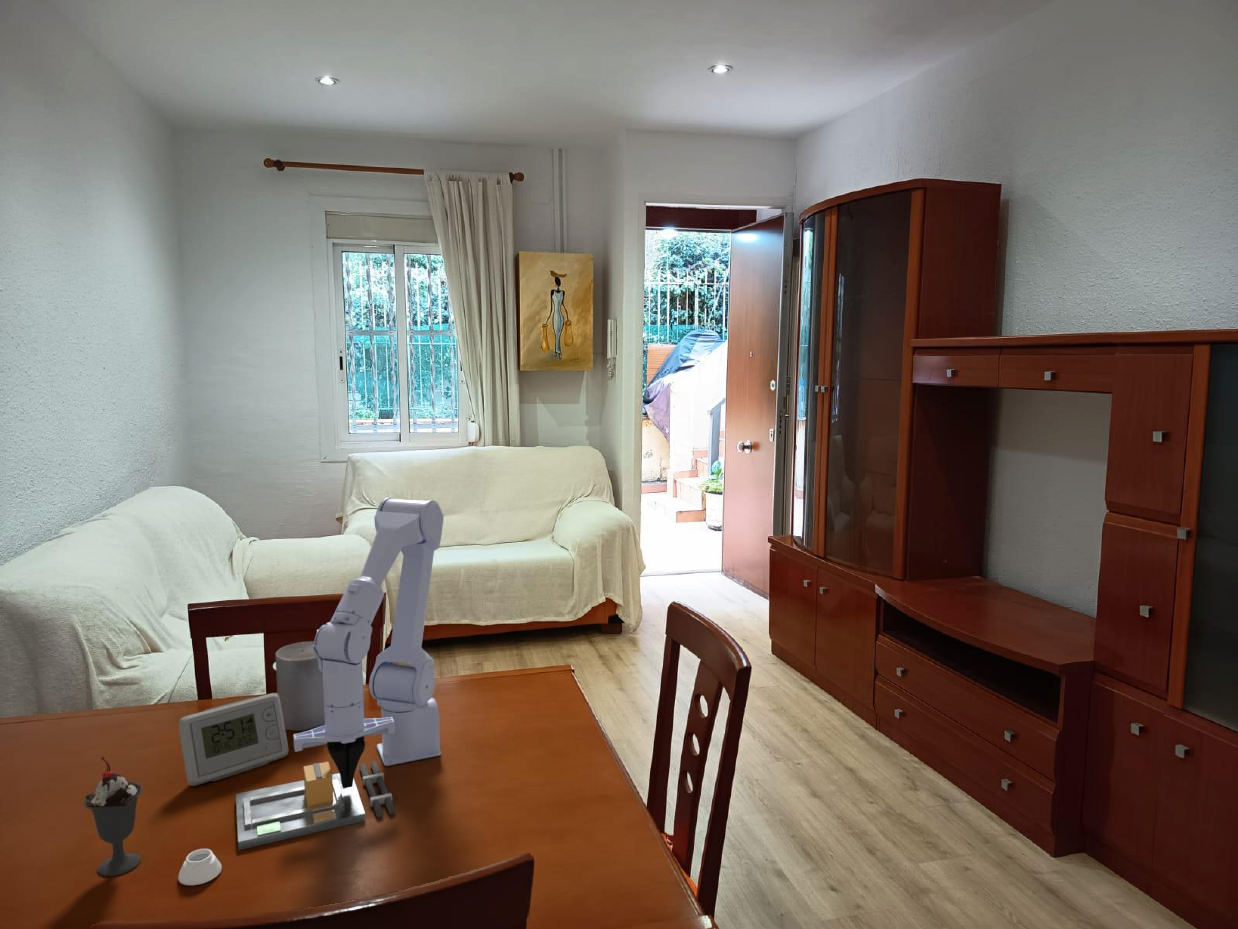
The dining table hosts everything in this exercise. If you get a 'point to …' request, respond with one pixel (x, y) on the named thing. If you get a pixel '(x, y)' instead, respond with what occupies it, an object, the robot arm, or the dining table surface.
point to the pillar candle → (300, 686)
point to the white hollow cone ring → (199, 867)
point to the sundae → (115, 819)
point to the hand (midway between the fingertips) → (346, 784)
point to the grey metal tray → (293, 812)
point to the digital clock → (232, 738)
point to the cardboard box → (318, 784)
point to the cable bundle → (368, 781)
